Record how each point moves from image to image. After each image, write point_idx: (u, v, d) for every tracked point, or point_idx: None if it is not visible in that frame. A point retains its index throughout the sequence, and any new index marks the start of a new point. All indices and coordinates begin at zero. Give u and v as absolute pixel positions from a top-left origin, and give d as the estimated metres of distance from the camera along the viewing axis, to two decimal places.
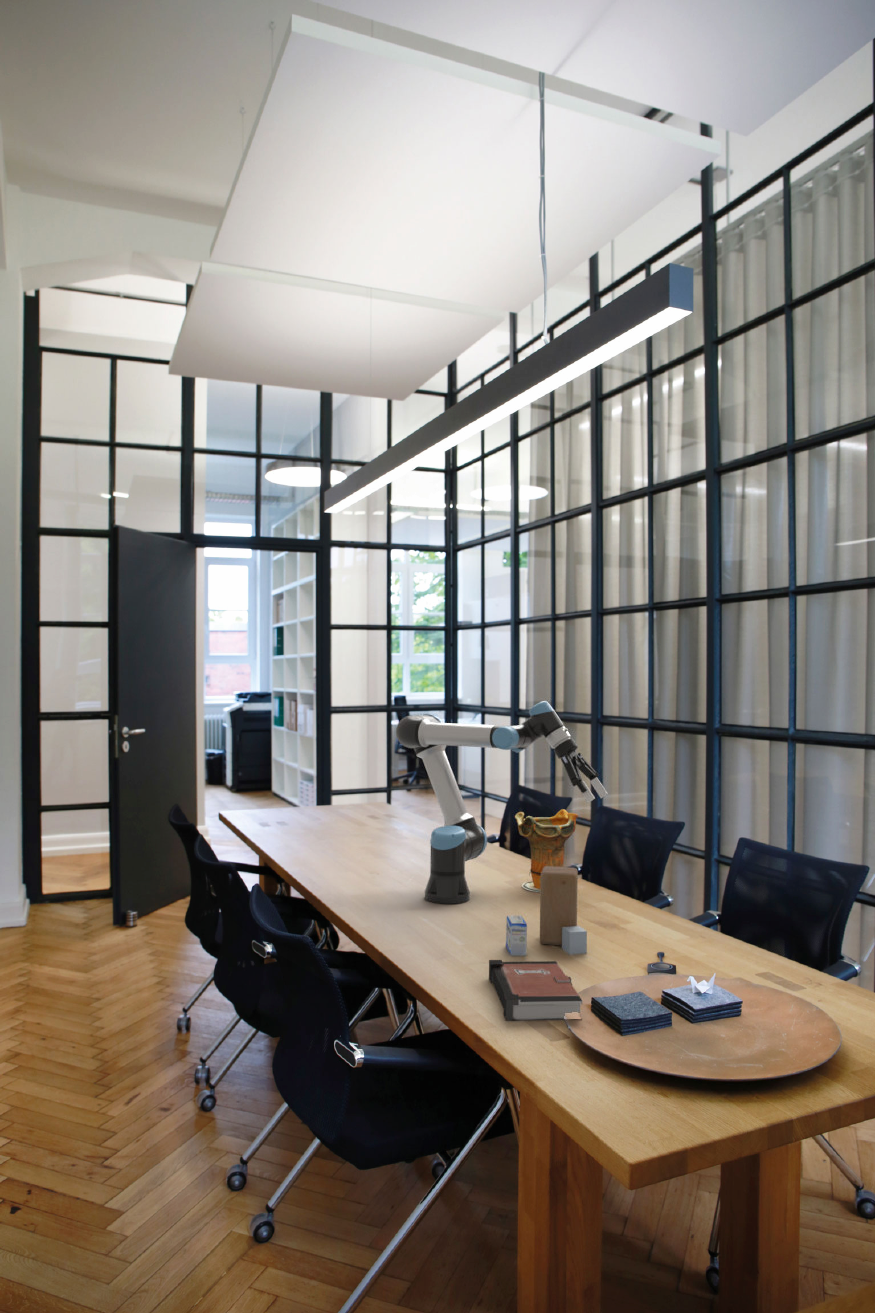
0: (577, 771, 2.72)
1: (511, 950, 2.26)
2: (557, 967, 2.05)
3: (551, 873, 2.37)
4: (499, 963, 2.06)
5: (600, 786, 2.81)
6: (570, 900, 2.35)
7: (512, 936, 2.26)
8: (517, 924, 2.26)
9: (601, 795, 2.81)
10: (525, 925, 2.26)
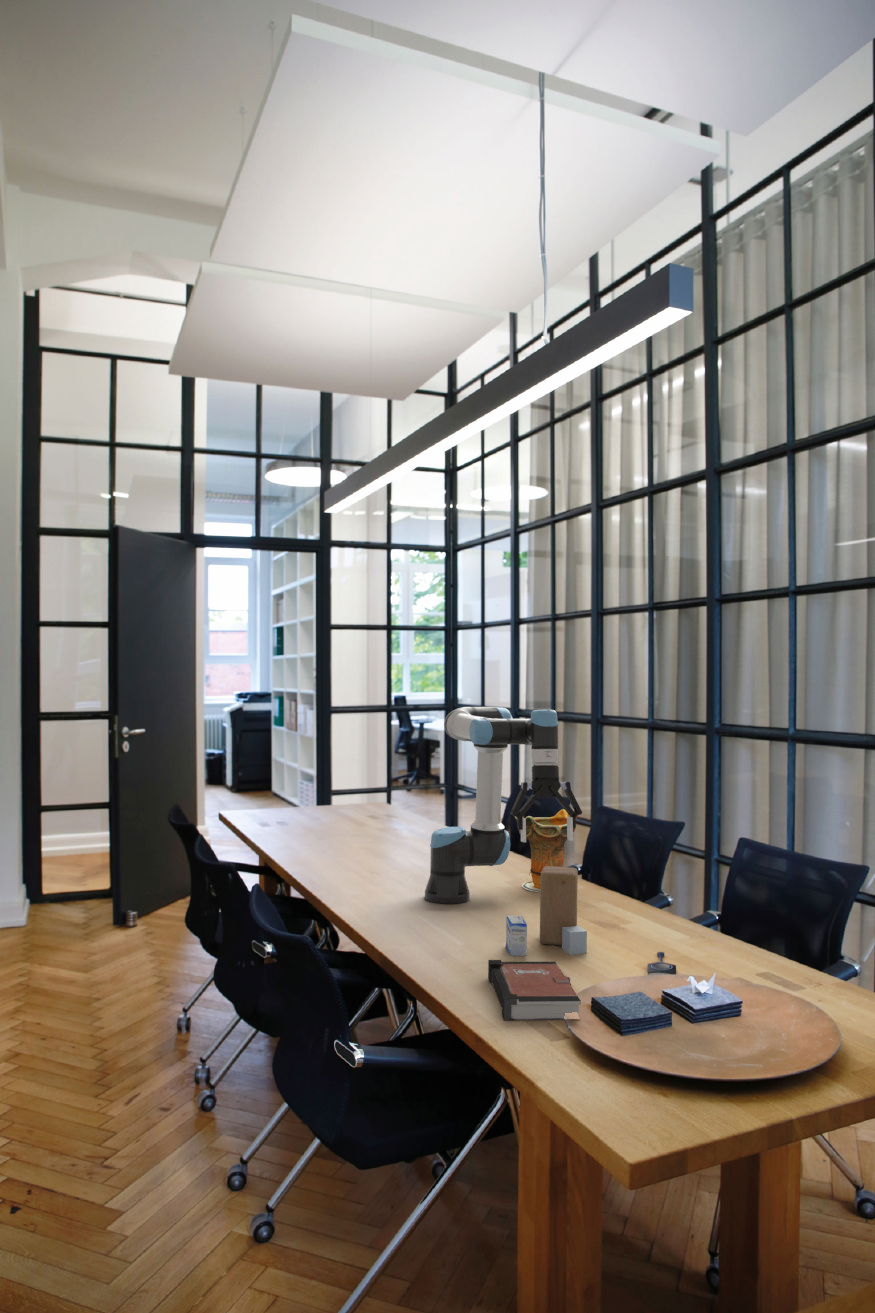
0: (526, 805, 2.35)
1: (511, 950, 2.26)
2: (556, 967, 2.05)
3: (551, 873, 2.37)
4: (498, 963, 2.06)
5: (569, 829, 2.36)
6: (570, 900, 2.35)
7: (512, 936, 2.26)
8: (517, 924, 2.26)
9: (568, 838, 2.38)
10: (525, 925, 2.26)
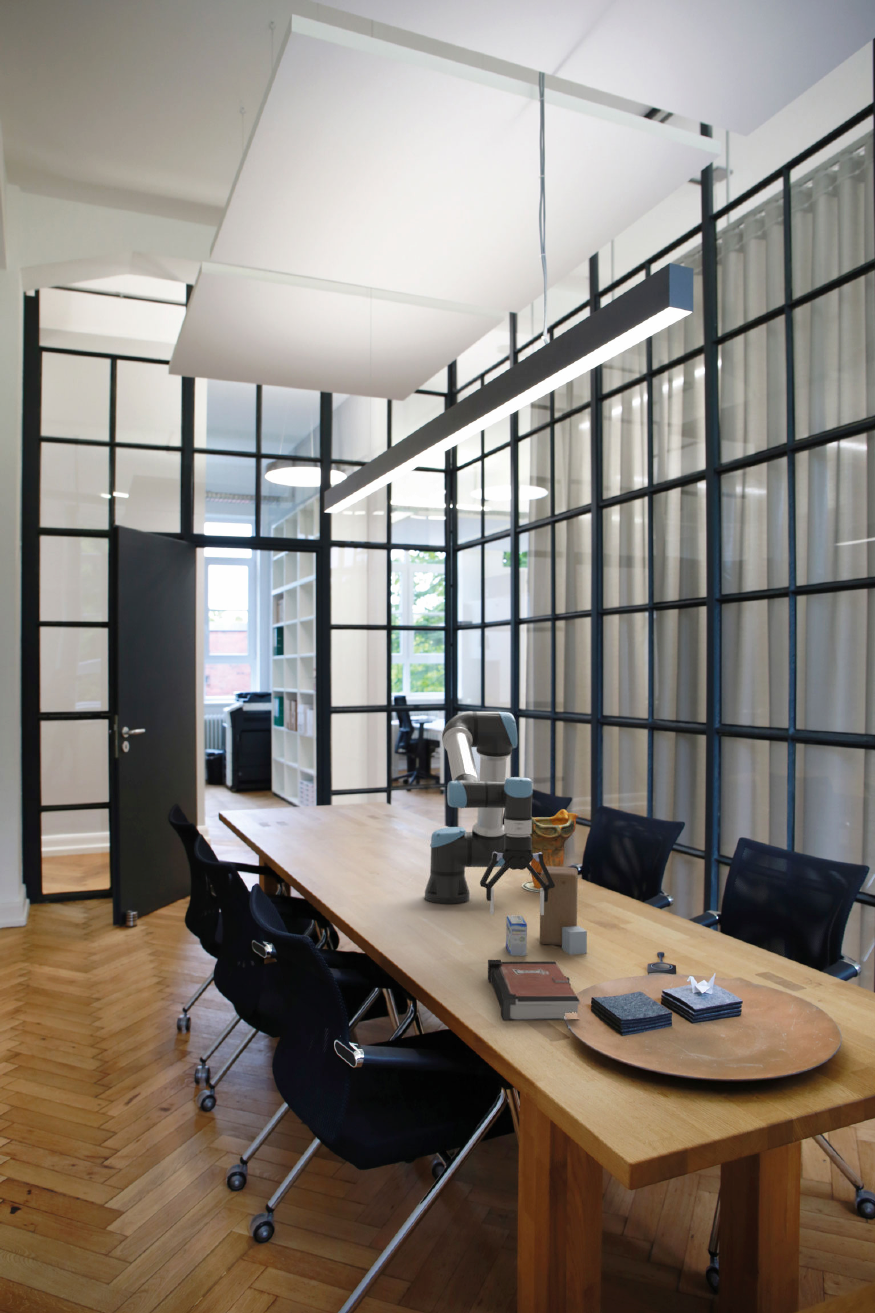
0: (495, 876, 2.29)
1: (511, 950, 2.26)
2: (556, 967, 2.05)
3: (551, 873, 2.37)
4: (498, 963, 2.06)
5: (540, 902, 2.29)
6: (570, 900, 2.35)
7: (512, 936, 2.26)
8: (517, 924, 2.26)
9: (540, 910, 2.30)
10: (525, 925, 2.26)
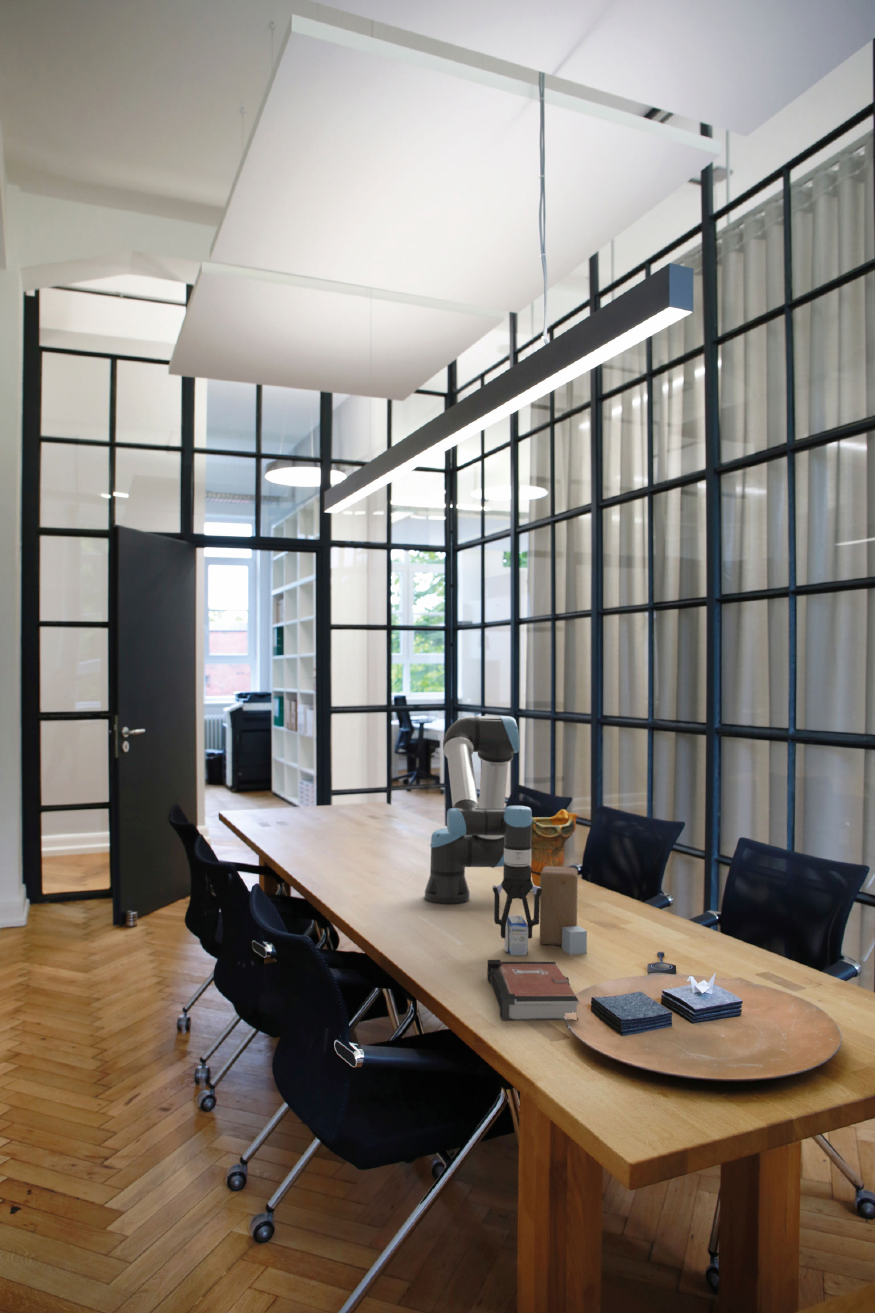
0: (504, 911, 2.29)
1: (511, 950, 2.26)
2: (555, 967, 2.05)
3: (551, 873, 2.37)
4: (497, 963, 2.06)
5: None
6: (571, 900, 2.35)
7: (512, 936, 2.26)
8: (517, 923, 2.26)
9: None
10: (525, 925, 2.26)
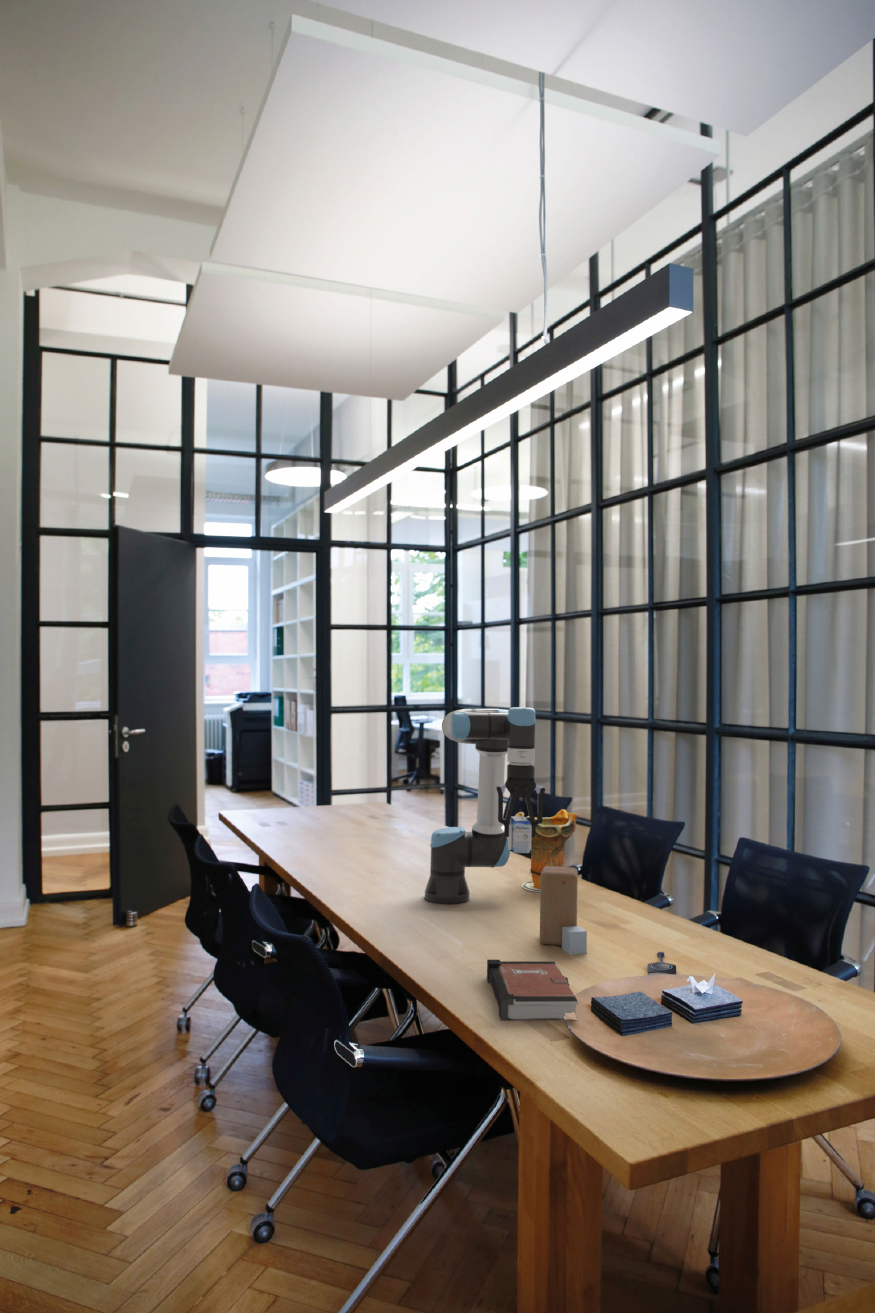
0: (507, 810, 2.30)
1: (514, 847, 2.27)
2: (555, 967, 2.05)
3: (551, 873, 2.37)
4: (497, 963, 2.06)
5: None
6: (571, 900, 2.35)
7: (515, 833, 2.27)
8: (520, 821, 2.28)
9: None
10: (528, 823, 2.28)
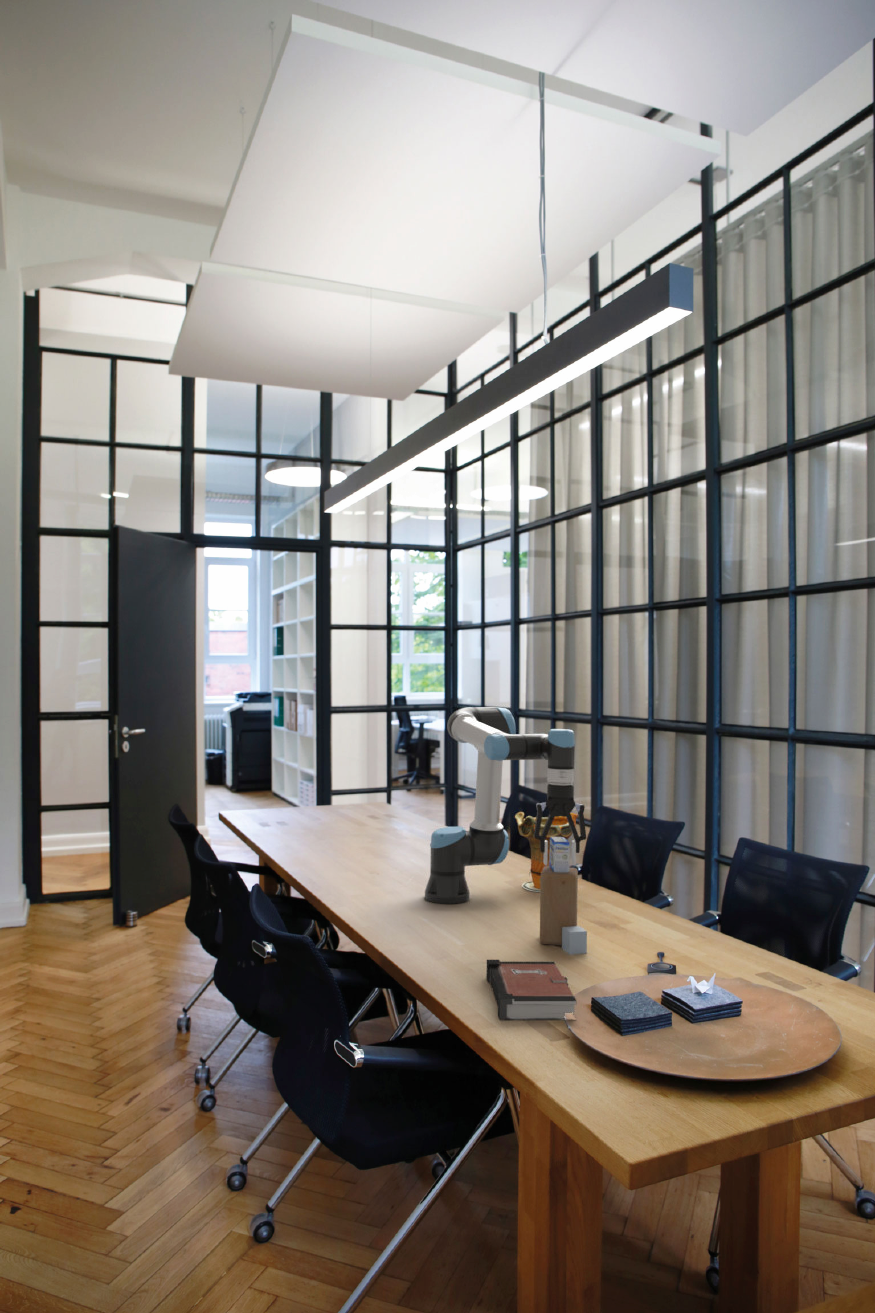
0: (545, 827, 2.40)
1: (554, 867, 2.37)
2: (554, 967, 2.05)
3: (551, 873, 2.37)
4: (496, 963, 2.06)
5: (572, 853, 2.40)
6: (570, 900, 2.35)
7: (555, 854, 2.37)
8: (560, 842, 2.37)
9: None
10: (568, 843, 2.37)
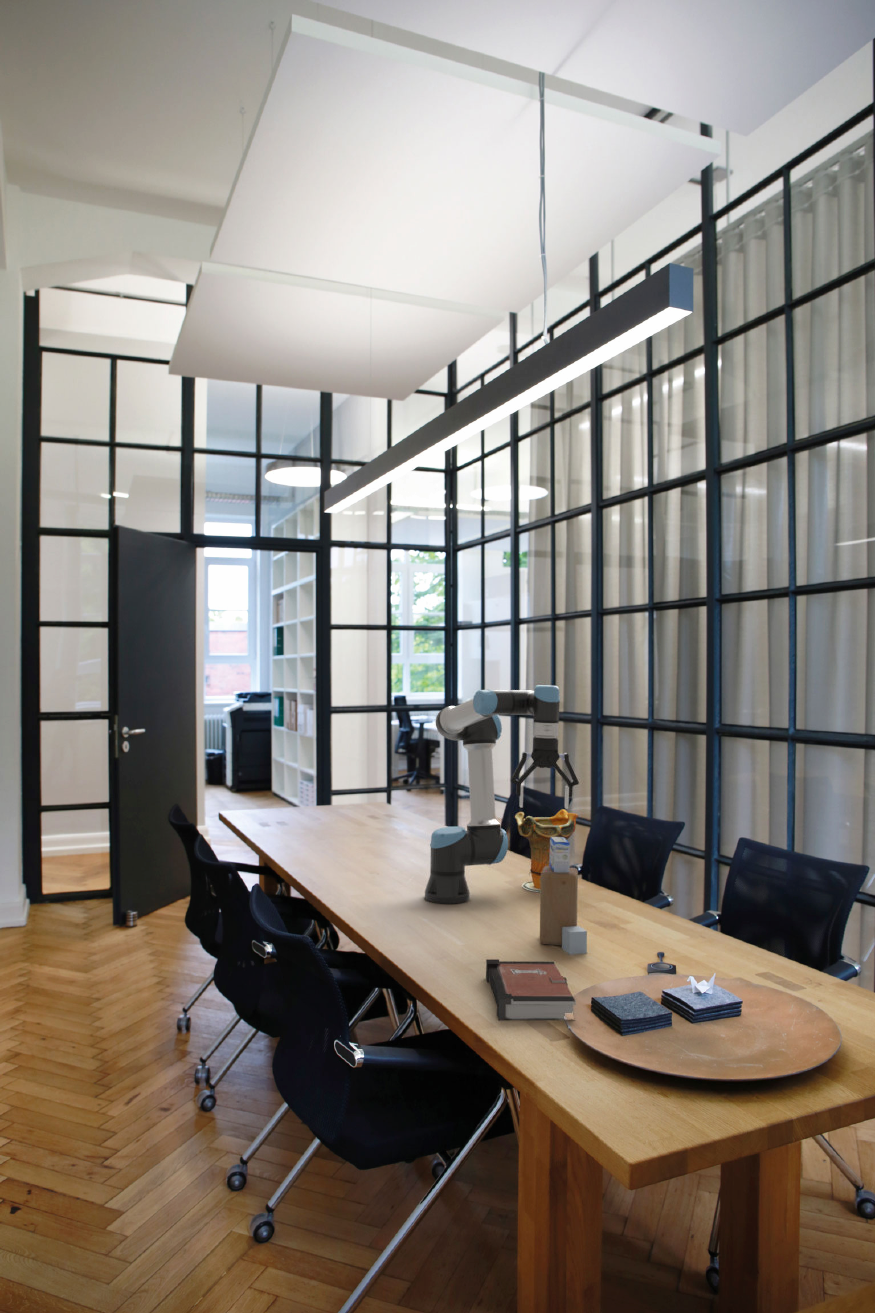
0: (524, 773, 2.52)
1: (555, 867, 2.37)
2: (554, 967, 2.05)
3: (551, 873, 2.36)
4: (496, 963, 2.06)
5: (565, 797, 2.53)
6: (571, 900, 2.35)
7: (555, 854, 2.37)
8: (560, 842, 2.37)
9: None
10: (568, 844, 2.37)
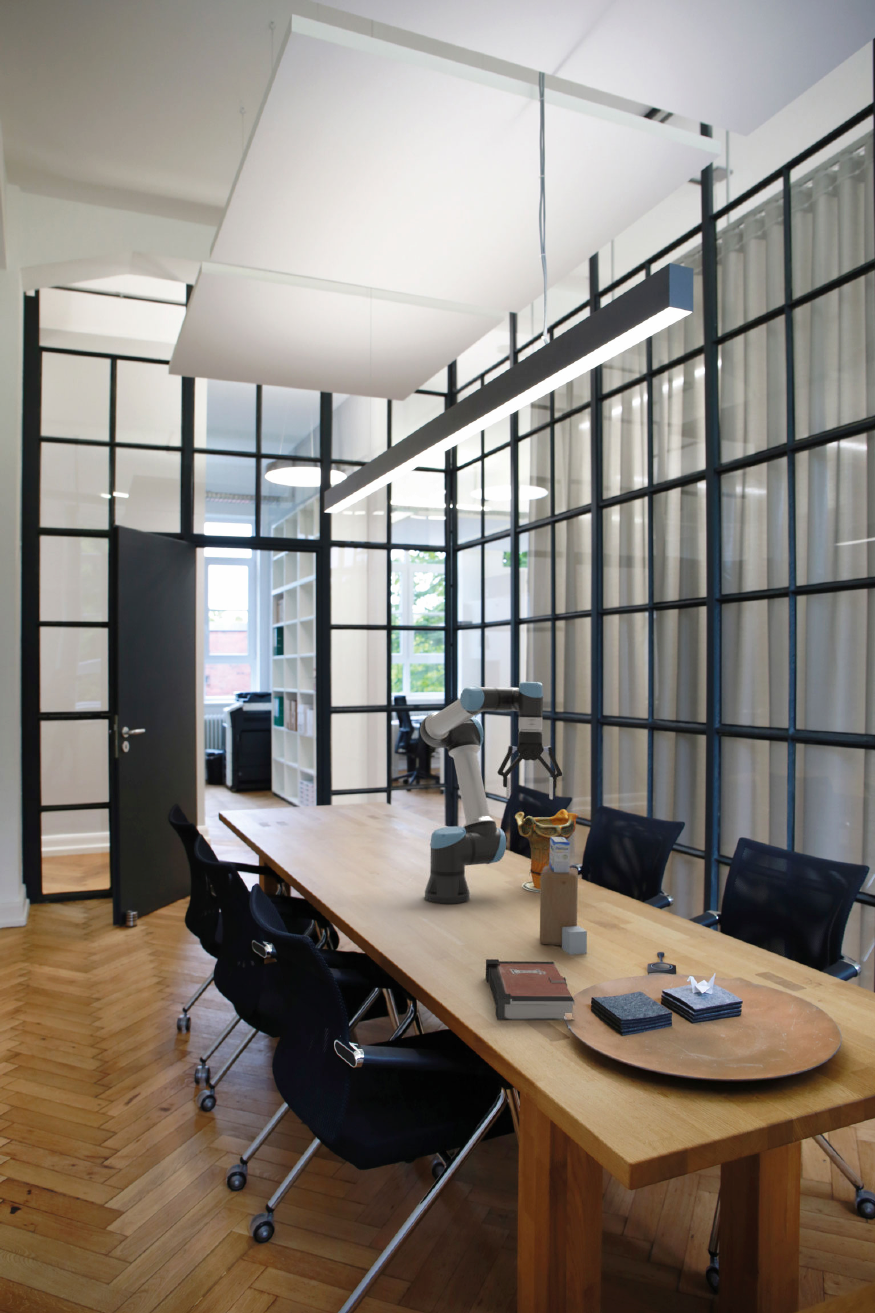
0: (511, 766, 2.65)
1: (555, 867, 2.37)
2: (553, 967, 2.05)
3: (551, 873, 2.36)
4: (496, 963, 2.06)
5: (550, 788, 2.65)
6: (571, 900, 2.35)
7: (555, 854, 2.37)
8: (560, 842, 2.37)
9: (549, 796, 2.67)
10: (568, 843, 2.37)
